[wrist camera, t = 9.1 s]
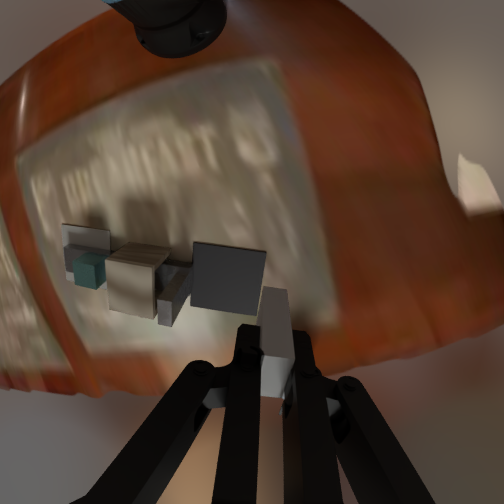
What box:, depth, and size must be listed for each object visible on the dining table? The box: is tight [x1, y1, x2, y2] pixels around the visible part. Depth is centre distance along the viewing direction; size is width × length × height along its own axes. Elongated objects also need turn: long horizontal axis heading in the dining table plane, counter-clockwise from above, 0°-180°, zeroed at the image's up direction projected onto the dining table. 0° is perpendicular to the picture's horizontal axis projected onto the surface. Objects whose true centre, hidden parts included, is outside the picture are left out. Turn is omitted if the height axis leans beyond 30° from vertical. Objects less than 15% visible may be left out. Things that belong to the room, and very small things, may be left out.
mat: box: [61, 224, 111, 289], centre depth 49 cm, size 12×12×1 cm
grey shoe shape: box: [190, 243, 266, 316], centre depth 49 cm, size 12×12×1 cm
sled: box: [63, 244, 194, 327], centre depth 42 cm, size 5×26×12 cm, turn 83°
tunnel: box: [105, 242, 171, 319], centre depth 45 cm, size 9×8×9 cm
